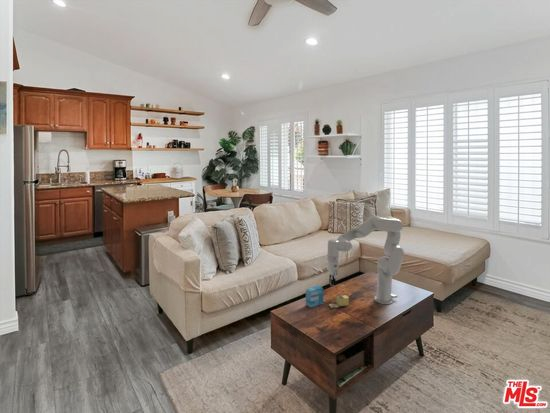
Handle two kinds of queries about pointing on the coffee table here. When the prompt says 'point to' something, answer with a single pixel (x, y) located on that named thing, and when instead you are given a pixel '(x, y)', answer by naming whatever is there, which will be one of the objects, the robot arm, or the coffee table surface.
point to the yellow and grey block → (342, 300)
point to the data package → (314, 296)
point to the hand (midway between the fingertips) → (332, 283)
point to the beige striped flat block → (333, 305)
